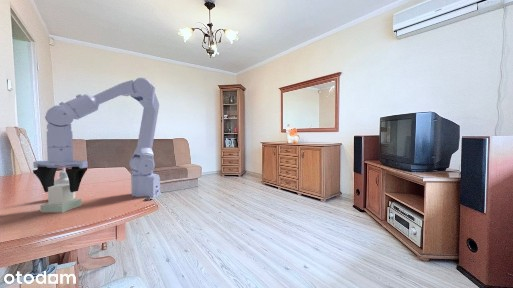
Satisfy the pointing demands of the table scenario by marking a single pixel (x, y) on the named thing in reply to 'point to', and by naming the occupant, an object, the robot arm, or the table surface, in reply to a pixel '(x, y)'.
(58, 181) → the eye dropper bottle
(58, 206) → the sage slab
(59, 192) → the cream block
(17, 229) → the table surface
